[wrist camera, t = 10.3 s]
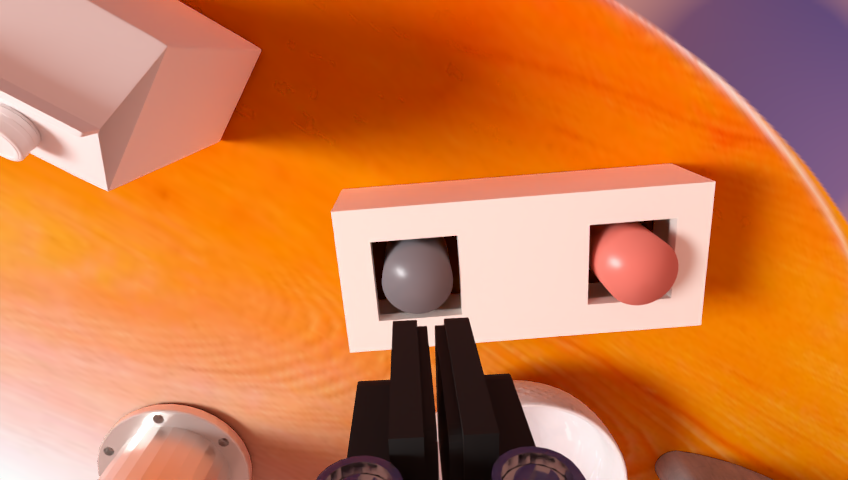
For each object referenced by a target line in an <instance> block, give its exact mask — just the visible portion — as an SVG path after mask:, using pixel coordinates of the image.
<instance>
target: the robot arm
mask: <svg viewBox="0 0 848 480" xmlns="http://www.w3.org/2000/svg"><path fill="white" fill-rule="evenodd" d="M435 357H436V388H437V419H438V439H437V425H436V415H435V404H434V394H433V383H432V373H431V362H430V352H429V341H428V331H427V326H417V320H404V321H393V325H392V352H391V378H390V380H377V381H359V382H358V385H357V391H356V398H355V405H354V412H353V419H352V426H351V433H350V440H349V448H348V455H347V458H346V459H342V460H340V461H338V462H336V463H334V464H332V465H330V466H328V467H327V468H326V469H325V470H324V471H323V472H322V473H320V474H319V476H318V477H317V479H316V480H439V462H438V441H439V453H440V463H441V473H442V480H586V479H585V477H584V476H583V474H582V473H581V471H580V470H579V468H578V467H577V466H576V465H575V464H574V463H573V462H572V461H571V460H570V459H568V458H567V457H565V456H564V455H562V454H561V453H558V452H556V451H553V450H550V449H548V448H541V447H536V445H535V442H534V440H533V437H532V434H531V431H530V428H529V425H528V423H527V420H526V417H525V414H524V411H523V408H522V405H521V403H520V400H519V397H518V394H517V391H516V388H515V386H514V383H513V380H512V377H511V375H510V374H493V375H484V374H483V370H482V366H481V362H480V359H479V355H478V351H477V347H476V343H475V340H474V336H473V332H472V328H471V325H470V321H469V318H468V317H466V318H445V319H444V325H435ZM97 464H98V473H99V476H100V477H99V479H98V480H251V478H252V464H251V460H250V455H249V453H248V450H247V448H246V446H245V444H244V442H243V441H242V440H241V438H240V437H239V436H238V434H237V433H236V432H235V431H234V430H233V429H232V428H231V427H230V426H228V425H227V424H226V423H225V422H223V421H222V420H220V419H219V418H217V417H216V416H214V415H212V414H210V413H207V412H205V411H203V410H200V409H197V408H193V407H190V406H185V405H177V404H157V405H152V406H148V407H143V408H141V409H138V410H136V411H133V412H131V413H129V414H128V415H126V416H125V417H123V418H122V419H120V420H119V421H118V422H117V423H116V424H115V425H114V427H113V428H112V429H111V430H110V431H109V433H108V434H107V435H106V437H105V438H104V439H103V442H102V444H101V446H100V448H99V453H98V460H97Z"/></svg>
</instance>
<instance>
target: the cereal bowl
mask: <svg viewBox="0 0 848 480" xmlns="http://www.w3.org/2000/svg"><path fill="white" fill-rule="evenodd" d="M513 383H514V386H515V388H516V391H517V394H518V397H519V400H520V403H521V405H522V408H523V411H524V414H525V417H526V420H527V423H528V425H529V428H530V431H531V434H532V437H533V440H534V442H535V445H536V447H541V448H548V449H550V450H553V451H556V452H558V453H561V454H562V455H564V456H565V457H567V458H568V459H570V460H571V461H572V462H573V463H574V464H575V465H576V466H577V467H578V468H579V470H580V471H581V473H582V474H583V476H584V477H585V479H586V480H628V477H627V469H626V465H625V461H624V458H623V455H622V453H621V451H620V449H619V447H618V445H617V443H616V442H615V440H614V438H613V436H612V435H611V434H610V432H609V431H608V429H607V427H606V426H605V425H604V424H603V422H602V421H601V419H599V418H598V417H597V416H596V414H595V413H594V412H593V411H592V410H590V409H589V408H588V407H587V406H586V405H585V404H584V403H582V402H581V401H580V400H578V399H577V398H575V397H573V396H572V395H571V394H569V393H567V392H565V391H563V390H561V389H559V388H555V387H552V386H550V385H547V384H542V383H539V382H533V381H523V380H513ZM435 415H436V425H437V439H438V419H437V412H436V413H435ZM438 462H439V480H442V473H441V463H440V453H439V441H438Z"/></svg>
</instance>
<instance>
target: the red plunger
mask: <svg viewBox="0 0 848 480" xmlns="http://www.w3.org/2000/svg"><path fill="white" fill-rule="evenodd" d="M589 269H590V270H591V271H592V272H593V273H594V275H595V276H596V277H597V278H598V279H599V280H600V282H601V283H602V284H603V285H604V286H605V288H606V289H607V290H608V291H609V292H610V293H611V295H612V296H613V297H614V298H616V299H617V300H618V301H620V302H622V303H625V304H628V305H645V304H649V303H652V302H654V301H656V300H658V299H659V298H661V297H662V296H664V295H665V294H666V293H667V292H668V291H669V290H670V288H671V287H672V286H673V284H674V282H675V280H676V278H677V274H678V259H677V256H676V254H675V252H674V250H673V249H672V248H671V246H670V245H668V244H667V243H666V242H664V241H663V240H662V239H660V238H659V237H658V236H656V235H655V234H653V233H652V232H651V231H649V230H648V229H647V228H645V227H644V226H642V225H641V224H640V223H638V222H637V221H635V222H622V223H610V224H597V225H590V235H589Z"/></svg>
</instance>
